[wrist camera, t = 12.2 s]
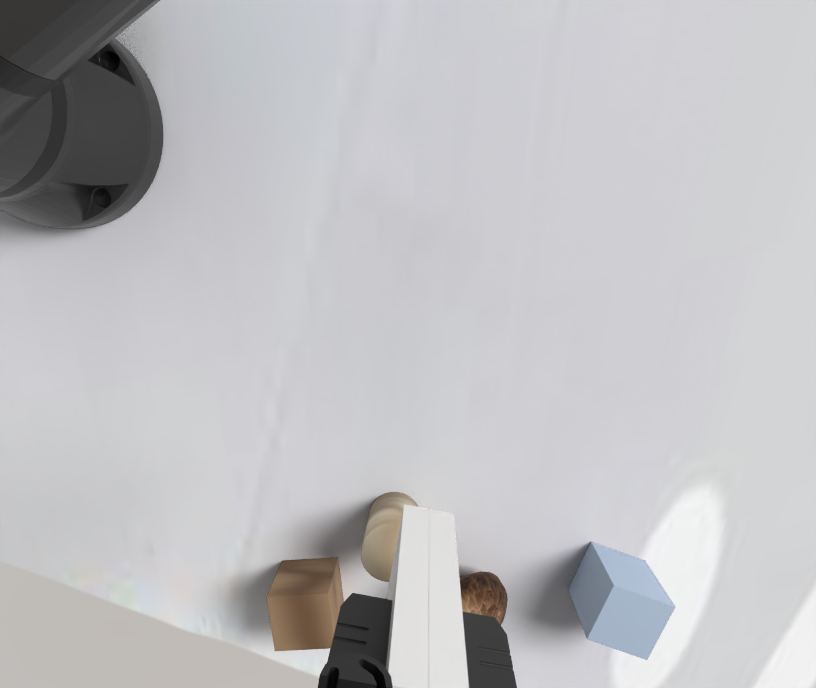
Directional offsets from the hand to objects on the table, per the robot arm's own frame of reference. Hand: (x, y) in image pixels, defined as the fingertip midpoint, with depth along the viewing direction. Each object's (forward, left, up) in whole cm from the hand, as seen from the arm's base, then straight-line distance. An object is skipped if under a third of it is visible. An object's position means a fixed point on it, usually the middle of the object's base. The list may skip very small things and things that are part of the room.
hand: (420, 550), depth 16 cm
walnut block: (-6, -23, -29) cm, 37 cm away
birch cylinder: (0, -15, -28) cm, 32 cm away
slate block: (+19, -17, -29) cm, 38 cm away
